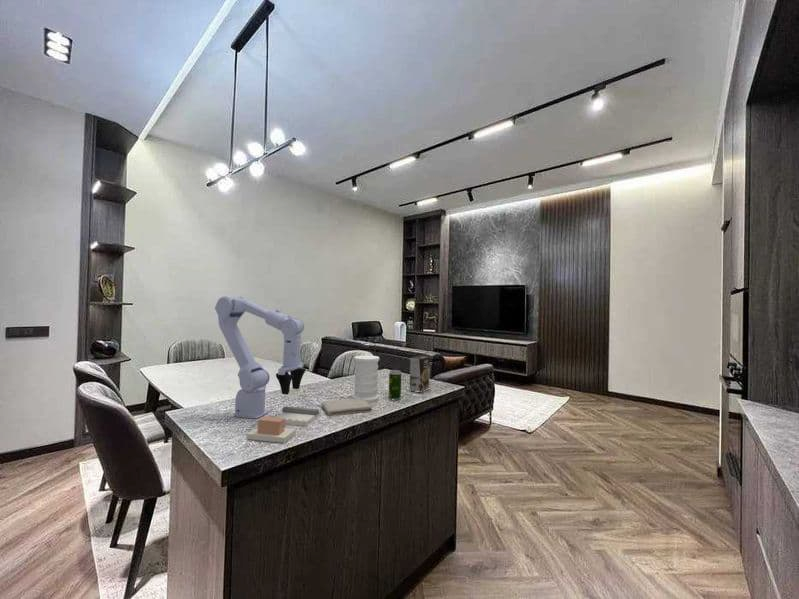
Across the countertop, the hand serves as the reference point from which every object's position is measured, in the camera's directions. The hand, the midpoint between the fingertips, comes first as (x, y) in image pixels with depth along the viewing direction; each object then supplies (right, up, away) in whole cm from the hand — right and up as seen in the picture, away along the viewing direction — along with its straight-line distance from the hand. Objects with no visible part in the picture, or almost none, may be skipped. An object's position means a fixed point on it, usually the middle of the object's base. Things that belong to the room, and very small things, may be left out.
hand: (290, 391), depth 121 cm
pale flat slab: (0, -9, -17) cm, 19 cm away
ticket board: (+3, -10, -1) cm, 10 cm away
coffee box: (+48, -12, +44) cm, 66 cm away
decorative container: (+24, -11, +27) cm, 38 cm away
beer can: (+36, -11, +29) cm, 48 cm away
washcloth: (+18, -11, +12) cm, 24 cm away
